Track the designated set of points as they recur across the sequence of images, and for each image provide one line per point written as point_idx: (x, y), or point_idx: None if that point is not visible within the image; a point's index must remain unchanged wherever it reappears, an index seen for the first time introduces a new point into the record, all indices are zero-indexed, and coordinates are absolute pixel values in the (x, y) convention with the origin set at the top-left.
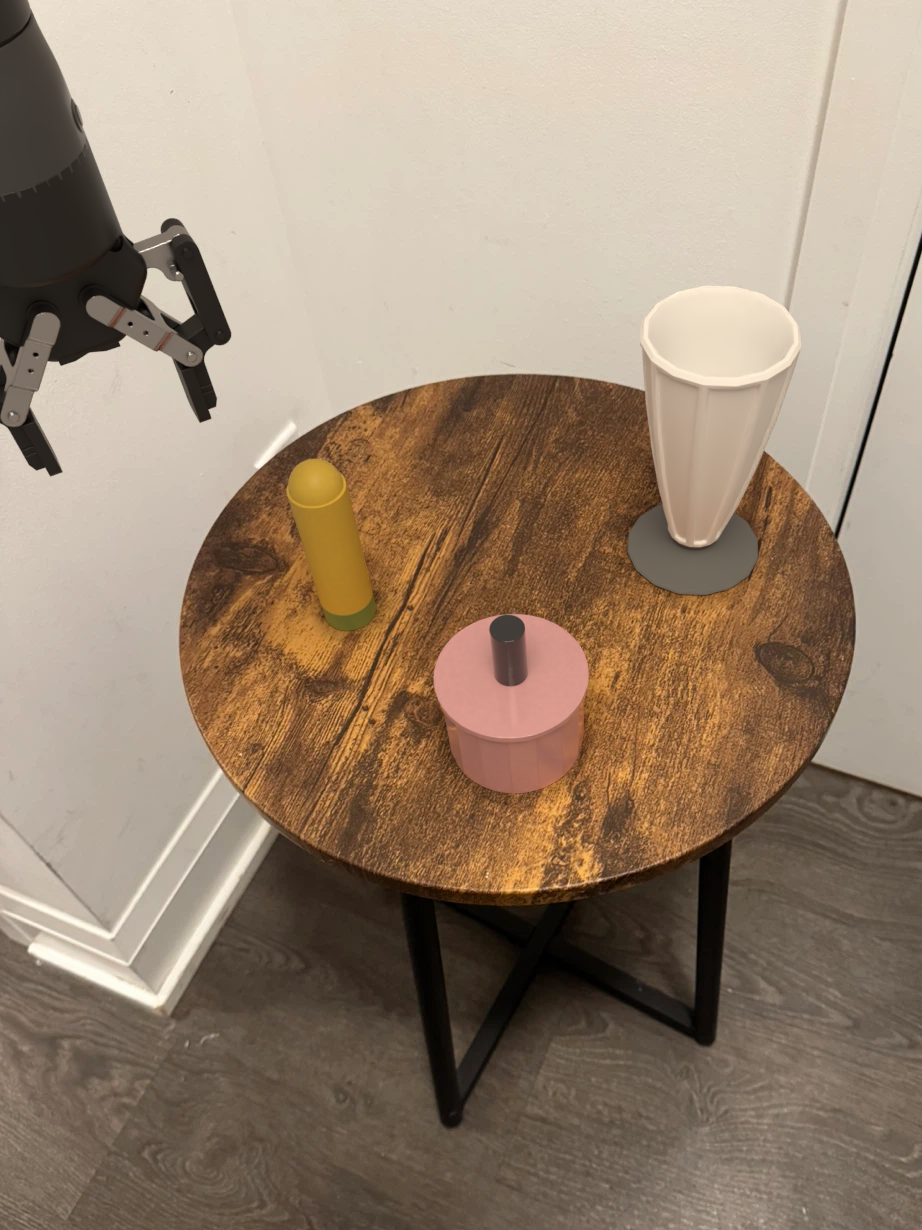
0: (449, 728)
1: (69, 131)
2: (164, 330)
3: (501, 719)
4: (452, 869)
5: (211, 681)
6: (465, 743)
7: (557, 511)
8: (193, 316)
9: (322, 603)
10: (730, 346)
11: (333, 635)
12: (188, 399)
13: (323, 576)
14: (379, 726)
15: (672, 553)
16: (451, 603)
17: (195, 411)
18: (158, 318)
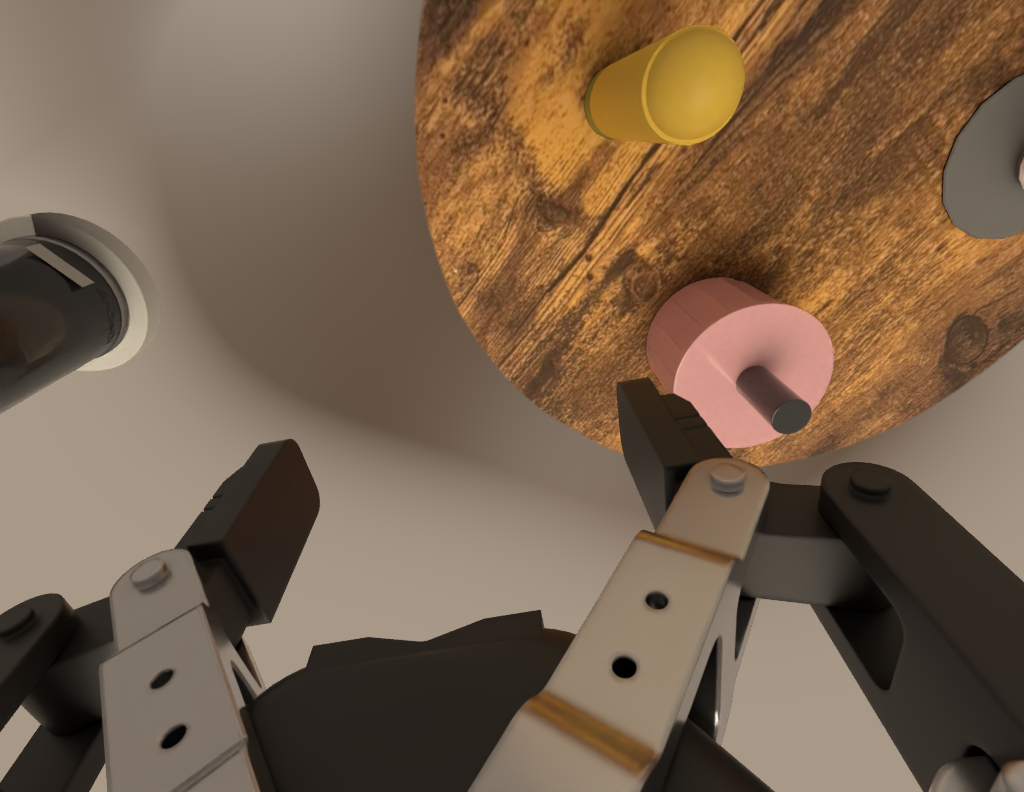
0: (662, 369)
1: None
2: (723, 733)
3: (716, 425)
4: (603, 434)
5: (434, 157)
6: None
7: (939, 13)
8: (825, 548)
9: (593, 115)
10: None
11: (585, 137)
12: (623, 407)
13: (617, 132)
14: (594, 284)
15: (997, 173)
16: (732, 138)
17: (629, 459)
18: (727, 675)
